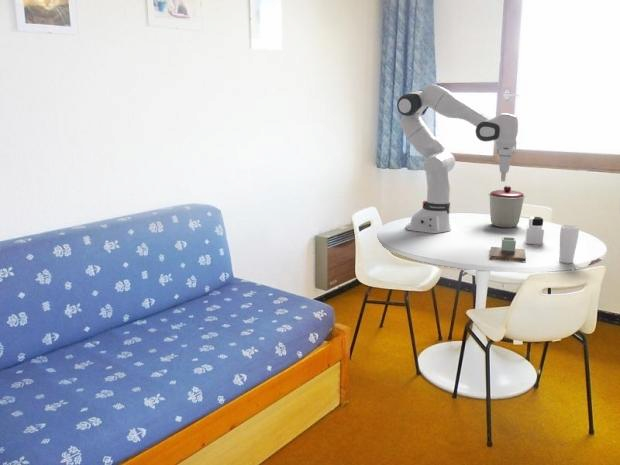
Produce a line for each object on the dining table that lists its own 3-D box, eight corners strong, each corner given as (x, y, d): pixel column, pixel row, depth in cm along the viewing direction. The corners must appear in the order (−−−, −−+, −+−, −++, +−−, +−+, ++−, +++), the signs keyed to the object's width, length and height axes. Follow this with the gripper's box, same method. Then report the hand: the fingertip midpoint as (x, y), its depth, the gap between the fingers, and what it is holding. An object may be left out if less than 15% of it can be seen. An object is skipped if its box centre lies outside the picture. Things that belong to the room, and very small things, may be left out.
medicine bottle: (541, 241, 264) (544, 216, 261) (542, 245, 258) (545, 219, 255) (525, 239, 266) (527, 215, 263) (525, 243, 260) (528, 218, 257)
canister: (480, 226, 293) (483, 186, 287) (494, 220, 306) (497, 181, 300) (514, 231, 281) (518, 190, 276) (527, 225, 294) (531, 185, 289)
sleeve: (501, 253, 240) (502, 240, 238) (501, 250, 245) (502, 236, 243) (514, 254, 238) (515, 241, 237) (514, 251, 243) (515, 237, 242)
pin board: (490, 258, 237) (491, 244, 236) (490, 249, 250) (491, 235, 249) (525, 261, 233) (526, 246, 232) (524, 252, 246) (525, 238, 244)
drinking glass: (554, 259, 236) (557, 225, 232) (569, 259, 236) (573, 224, 233) (562, 264, 229) (566, 229, 226) (578, 264, 230) (582, 228, 226)
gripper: (498, 147, 266) (495, 175, 270) (498, 151, 248) (495, 182, 251) (512, 147, 264) (509, 176, 268) (513, 152, 246) (510, 183, 249)
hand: (502, 179), depth 259 cm, fingers open, 8 cm apart
